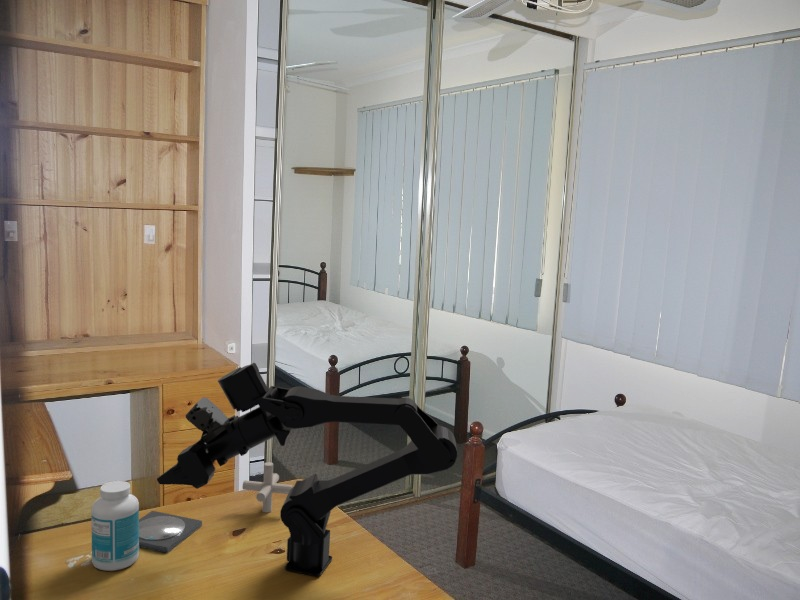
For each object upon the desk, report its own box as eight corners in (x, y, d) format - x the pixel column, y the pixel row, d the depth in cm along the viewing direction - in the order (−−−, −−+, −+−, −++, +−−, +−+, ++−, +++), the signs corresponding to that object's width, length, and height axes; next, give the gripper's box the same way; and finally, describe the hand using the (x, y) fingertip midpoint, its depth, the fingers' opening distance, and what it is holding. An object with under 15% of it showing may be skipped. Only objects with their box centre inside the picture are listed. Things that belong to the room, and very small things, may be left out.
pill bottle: (138, 547, 119) (139, 475, 117) (138, 569, 112) (139, 493, 110) (92, 553, 116) (92, 479, 114) (89, 575, 109) (89, 497, 107)
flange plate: (201, 525, 128) (202, 519, 128) (167, 553, 118) (167, 546, 118) (152, 515, 131) (152, 509, 131) (114, 541, 120) (114, 535, 120)
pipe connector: (297, 502, 141) (299, 457, 139) (284, 524, 131) (286, 475, 129) (250, 497, 142) (252, 452, 140) (234, 519, 132) (236, 470, 130)
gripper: (238, 376, 122) (165, 413, 124) (206, 406, 104) (121, 449, 105) (268, 429, 123) (195, 465, 125) (241, 468, 105) (156, 509, 106)
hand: (168, 470), depth 115 cm, fingers open, 9 cm apart
